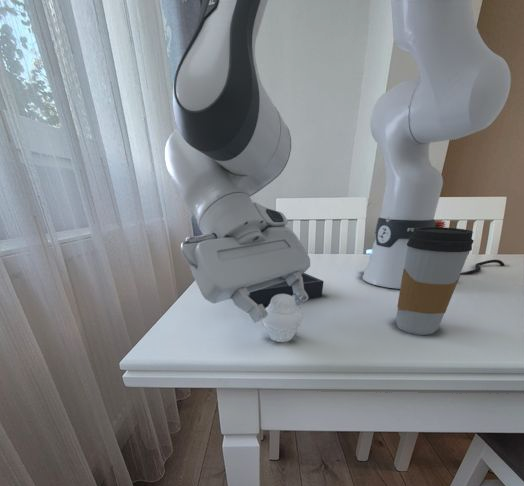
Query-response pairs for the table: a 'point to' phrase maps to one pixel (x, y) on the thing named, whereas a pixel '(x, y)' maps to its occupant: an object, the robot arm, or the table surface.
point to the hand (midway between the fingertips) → (283, 310)
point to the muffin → (282, 318)
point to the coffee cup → (430, 276)
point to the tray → (287, 290)
